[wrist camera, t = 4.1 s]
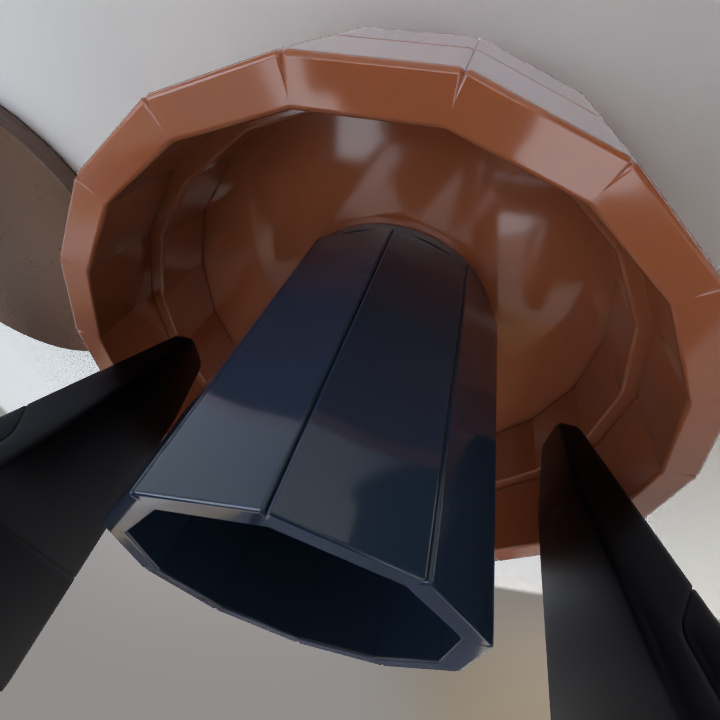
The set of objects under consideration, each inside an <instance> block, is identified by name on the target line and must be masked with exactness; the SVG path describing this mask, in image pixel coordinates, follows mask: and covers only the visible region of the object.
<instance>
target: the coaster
mask: <svg viewBox="0 0 720 720" xmlns="http://www.w3.org/2000/svg"><path fill="white" fill-rule="evenodd" d="M76 177H77V176H76V175H75V174H74V173H73V171H72V170H71V169H70V168H69V167H68V166H67V165H66V164H65V162H64V161H63V160H62V159H61V158H60V157H59V156H58V155H57V154H56V153H55V152H54V151H53V150H52V149H51V148H50V147H49V146H48V145H47V144H46V143H45V142H44V141H43V140H41V139H40V138H39V137H38V136H37V135H36V134H35V133H34V132H32V131H31V130H30V129H29V128H28V127H27V126H25V125H24V124H23V123H22V122H21V121H19V120H18V119H17V118H16V117H15V116H13V115H12V114H10V113H9V112H8V111H6V110H5V109H4V108H2V107H1V106H0V322H1V323H3V324H5V325H7V326H9V327H11V328H13V329H14V330H16V331H18V332H20V333H23V334H25V335H27V336H29V337H31V338H34V339H36V340H39V341H42V342H44V343H47V344H50V345H54V346H57V347H60V348H66V349H71V350H80V351H89V350H88V348H87V347H86V345H85V343H84V341H83V340H82V338H81V336H80V335H79V333H78V329H77V328H76V325H75V320H74V316H73V312H72V308H71V304H70V299H69V295H68V291H67V287H66V283H65V278H64V274H63V270H62V266H61V262H60V258H61V250H62V244H63V239H64V233H65V228H66V223H67V217H68V212H69V206H70V201H71V196H72V190H73V185H74V179H75V178H76Z"/></svg>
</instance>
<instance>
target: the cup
mask: <svg viewBox="0 0 720 720" xmlns="http://www.w3.org/2000/svg"><path fill="white" fill-rule="evenodd" d="M496 403H497V322H496V320H495V318H494V316H493V314H492V310H491V306H490V302H489V298H488V295H487V293H486V290H485V288H484V286H483V284H482V282H481V281H480V279H479V277H478V276H477V274H476V273H475V271H474V270H473V269H472V268H471V267H470V265H469V264H468V263H467V262H466V261H465V260H464V259H463V258H462V257H461V256H460V255H459V254H457V253H456V252H455V251H454V250H452V249H451V248H450V247H448V246H447V245H445V244H444V243H442V242H441V241H439V240H437V239H435V238H433V237H431V236H429V235H427V234H424V233H421V232H419V231H416V230H413V229H410V228H405V227H401V226H396V225H387V224H365V225H358V226H352V227H348V228H345V229H342V230H339V231H336V232H334V233H332V234H330V235H328V236H325V237H320V239H317V240H316V241H315V242H314V243H313V245H312V246H311V247H310V248H309V249H308V251H307V252H306V253H305V254H304V255H303V257H302V258H301V259H300V260H299V262H298V263H297V264H296V265H295V266H294V268H293V269H292V270H291V271H290V273H289V274H288V275H287V276H286V277H285V279H284V280H283V281H282V282H281V284H280V285H279V286H278V288H277V289H276V290H275V292H274V293H273V294H272V296H271V297H270V298H269V299H268V301H267V302H266V303H265V305H264V306H263V307H262V309H261V310H260V311H259V313H258V314H257V315H256V317H255V318H254V319H253V321H252V322H251V323H250V325H249V326H248V327H247V329H246V330H245V331H244V333H243V334H242V335H241V337H240V338H239V339H238V341H237V342H236V343H235V345H234V346H233V347H232V348H231V350H230V351H229V352H228V354H227V355H226V356H225V358H224V359H223V360H222V362H221V363H220V364H219V366H218V367H217V368H216V370H215V371H214V372H213V374H212V375H211V376H210V378H209V379H208V380H207V382H206V383H205V384H204V386H203V387H202V388H201V390H200V391H199V392H198V393H197V395H196V396H195V397H194V399H193V400H192V401H191V403H190V404H189V405H188V407H187V408H186V409H185V411H184V412H183V413H182V415H181V416H180V417H179V419H178V420H177V421H176V423H175V424H174V425H173V427H172V428H171V429H170V431H169V432H168V433H167V435H166V436H165V437H164V439H163V440H162V441H161V442H160V444H159V445H158V446H157V448H156V449H155V450H154V452H153V453H152V454H151V456H150V457H149V458H148V460H147V461H146V462H145V464H144V465H143V466H142V468H141V469H140V470H139V472H138V473H137V474H136V476H135V477H134V478H133V480H132V481H131V482H130V484H129V485H128V486H127V487H126V489H125V490H124V491H123V493H122V494H121V495H120V497H119V498H118V499H117V501H116V502H115V503H114V505H113V506H112V507H111V509H110V510H109V511H108V513H107V514H106V515H105V517H104V518H103V520H102V522H103V525H104V526H105V527H106V528H107V529H108V530H109V531H110V532H111V533H112V534H113V535H114V536H115V538H116V539H117V540H118V541H119V542H120V543H121V544H122V545H123V546H124V547H125V548H126V549H127V550H128V551H129V552H130V553H131V554H132V556H133V557H134V558H135V559H136V560H137V561H138V562H139V563H140V564H141V565H142V566H143V567H145V568H146V569H147V570H149V571H150V572H152V573H154V574H156V575H157V576H159V577H161V578H162V579H164V580H166V581H168V582H169V583H171V584H173V585H175V586H176V587H178V588H180V589H181V590H183V591H185V592H187V593H188V594H190V595H192V596H194V597H195V598H197V599H199V600H201V601H202V602H204V603H206V604H208V605H209V606H211V607H212V608H216V609H217V610H219V611H222V612H224V613H226V614H229V615H231V616H234V617H236V618H238V619H241V620H243V621H246V622H248V623H251V624H253V625H256V626H258V627H261V628H263V629H265V630H268V631H270V632H273V633H275V634H278V635H280V636H283V637H286V638H288V639H290V640H293V641H295V642H297V641H298V642H299V643H301V644H305V645H309V646H312V647H316V648H320V649H323V650H327V651H331V652H335V653H338V654H342V655H345V656H350V657H353V658H357V659H360V660H364V661H368V662H372V663H375V664H379V665H382V664H383V665H384V666H394V667H395V666H396V667H408V668H421V669H434V670H447V671H460V670H462V669H464V668H465V667H466V666H468V665H469V664H470V663H472V662H473V661H475V660H476V659H477V658H479V657H480V656H481V655H483V654H484V653H486V652H487V651H488V650H490V649H491V648H492V647H493V645H494V639H493V638H494V566H495V484H496Z"/></svg>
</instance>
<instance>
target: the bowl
mask: <svg viewBox="0 0 720 720" xmlns="http://www.w3.org/2000/svg"><path fill="white" fill-rule="evenodd" d="M365 224H387V225H396V226H401V227H405V228H410V229H413V230H416V231H419V232H421V233H424V234H427V235H429V236H431V237H433V238H435V239H437V240H439V241H441V242H442V243H444V244H445V245H447V246H448V247H450V248H451V249H452V250H454V251H455V252H456V253H457V254H459V255H460V256H461V257H462V258H463V259H464V260H465V261H466V262H467V263H468V264H469V265H470V267H471V268H472V269H473V270H474V271H475V273H476V274H477V276H478V277H479V279H480V281H481V282H482V284H483V286H484V288H485V290H486V293H487V295H488V298H489V302H490V306H491V310H492V314H493V316H494V318H495V320H496V322H497V403H496V484H495V561H498V560H500V561H502V560H508V559H515V558H522V557H529V556H536V555H540V542H539V527H538V501H539V484H540V468H541V452H542V447H543V444H544V442H545V440H546V439H547V437H548V436H549V434H550V433H551V431H552V430H553V428H554V427H555V426H556V424H558V423H566V424H570V425H574V426H577V427H578V428H580V429H581V431H582V432H583V433H584V435H585V436H586V438H587V439H588V440H589V442H590V443H591V445H592V446H593V447H594V449H595V450H596V452H597V453H598V454H599V456H600V457H601V459H602V460H603V461H604V463H605V464H606V466H607V467H608V468H609V470H610V471H611V473H612V474H613V475H614V477H615V478H616V480H617V481H618V482H619V484H620V485H621V487H622V488H623V489H624V491H625V492H626V494H627V495H628V496H629V498H630V499H631V501H632V502H633V503H634V505H635V506H636V508H637V509H638V510H639V512H640V513H641V515H642V516H643V517H644V518H645V517H647V516H648V515H649V514H650V513H652V512H653V511H654V510H656V509H657V508H658V507H659V506H661V505H662V504H663V503H664V502H666V501H667V500H668V499H670V498H671V497H672V496H673V495H675V494H676V493H677V492H678V491H680V490H681V489H682V488H683V487H685V486H686V485H687V484H689V483H690V482H691V481H692V480H694V479H695V478H696V475H698V474H699V473H700V471H701V469H702V467H703V465H704V463H705V461H706V459H707V457H708V455H709V453H710V451H711V449H712V447H713V445H714V443H715V441H716V439H717V437H718V435H719V433H720V273H719V272H718V270H717V269H716V268H715V266H714V265H713V264H712V262H711V261H710V260H709V258H708V257H707V256H706V254H705V253H704V251H703V250H702V249H701V247H700V246H699V245H698V243H697V242H696V241H695V239H694V238H693V237H692V235H691V234H690V232H689V231H688V230H687V228H686V227H685V226H684V224H683V223H682V222H681V220H680V219H679V218H678V216H677V215H676V213H675V212H674V211H673V209H672V208H671V207H670V205H669V204H668V203H667V201H666V200H665V198H664V197H663V196H662V194H661V193H660V192H659V190H658V189H657V188H656V186H655V185H654V184H653V182H652V181H651V179H650V178H649V177H648V175H647V174H646V173H645V171H644V170H643V169H642V167H641V166H640V165H639V163H638V162H637V161H636V159H635V158H634V157H633V156H632V154H631V153H630V152H629V151H628V149H627V148H626V147H625V146H624V144H623V143H622V142H621V141H620V139H619V138H618V137H617V136H616V134H615V133H614V132H613V130H612V129H611V128H610V127H609V125H608V124H607V123H606V122H605V120H604V119H603V118H602V117H601V115H600V114H599V113H598V112H597V110H596V109H595V108H594V107H593V105H592V104H591V103H590V102H589V100H588V99H587V98H586V97H584V96H583V95H582V93H580V92H579V91H577V90H575V89H573V88H571V87H570V86H568V85H566V84H564V83H562V82H561V81H559V80H557V79H555V78H553V77H552V76H550V75H548V74H546V73H544V72H543V71H541V70H539V69H537V68H535V67H533V66H532V65H530V64H528V63H526V62H524V61H523V60H521V59H519V58H517V57H515V56H514V55H512V54H510V53H508V52H506V51H505V50H503V49H501V48H499V47H497V46H496V45H494V44H492V43H490V42H488V41H487V40H485V39H480V40H479V38H478V37H474V36H463V35H452V34H442V33H431V32H420V31H409V30H398V29H387V28H376V27H364V28H356V29H352V30H348V31H345V32H341V33H337V34H333V35H329V36H325V37H321V38H317V39H314V40H310V41H306V42H302V43H298V44H294V45H290V46H286V47H283V48H279V49H275V50H272V51H269V52H266V53H264V54H261V55H258V56H255V57H252V58H249V59H246V60H243V61H241V62H238V63H235V64H232V65H229V66H226V67H223V68H220V69H218V70H215V71H212V72H209V73H206V74H203V75H200V76H197V77H195V78H192V79H189V80H186V81H183V82H180V83H177V84H174V85H172V86H169V87H166V88H163V89H160V90H157V91H154V92H151V93H149V94H148V95H147V97H144V98H142V99H141V100H140V101H139V102H138V103H137V104H136V105H135V107H134V108H133V109H132V110H131V111H130V112H129V114H128V115H127V116H126V117H125V118H124V119H123V120H122V122H121V123H120V124H119V125H118V126H117V127H116V129H115V130H114V131H113V132H112V133H111V134H110V136H109V137H108V138H107V139H106V140H105V141H104V142H103V144H102V145H101V146H100V147H99V148H98V149H97V151H96V152H95V153H94V154H93V155H92V156H91V157H90V159H89V160H88V161H87V162H86V163H85V164H84V166H83V167H82V168H81V169H80V170H79V171H78V173H77V177H76V178H75V179H74V185H73V190H72V196H71V201H70V206H69V212H68V217H67V223H66V228H65V233H64V239H63V244H62V250H61V258H60V262H61V266H62V270H63V274H64V278H65V283H66V287H67V291H68V295H69V299H70V304H71V308H72V312H73V316H74V320H75V325H76V328H77V329H78V333H79V335H80V336H81V338H82V340H83V341H84V343H85V345H86V347H87V348H88V350H89V352H90V354H91V355H92V357H93V359H94V360H95V362H96V364H97V366H98V367H99V369H100V371H101V370H103V369H105V368H107V367H110V366H112V365H114V364H116V363H118V362H120V361H123V360H125V359H127V358H129V357H131V356H133V355H135V354H138V353H140V352H142V351H144V350H146V349H148V348H151V347H153V346H155V345H157V344H159V343H161V342H163V341H166V340H168V339H170V338H172V337H174V336H183V337H188V338H191V339H193V340H194V342H195V344H196V347H197V350H198V353H199V357H200V360H201V367H200V370H199V373H198V375H197V377H196V379H195V381H194V383H193V385H192V387H191V389H190V391H189V393H188V395H187V397H186V399H185V401H184V403H183V405H182V407H181V409H180V411H179V413H178V415H177V417H176V419H175V420H174V422H173V424H172V425H171V427H170V429H171V428H172V427H173V425H174V424H175V423H176V421H177V420H178V419H179V417H180V416H181V415H182V413H183V412H184V411H185V409H186V408H187V407H188V405H189V404H190V403H191V401H192V400H193V399H194V397H195V396H196V395H197V393H198V392H199V391H200V390H201V388H202V387H203V386H204V384H205V383H206V382H207V380H208V379H209V378H210V376H211V375H212V374H213V372H214V371H215V370H216V368H217V367H218V366H219V364H220V363H221V362H222V360H223V359H224V358H225V356H226V355H227V354H228V352H229V351H230V350H231V348H232V347H233V346H234V345H235V343H236V342H237V341H238V339H239V338H240V337H241V335H242V334H243V333H244V331H245V330H246V329H247V327H248V326H249V325H250V323H251V322H252V321H253V319H254V318H255V317H256V315H257V314H258V313H259V311H260V310H261V309H262V307H263V306H264V305H265V303H266V302H267V301H268V299H269V298H270V297H271V296H272V294H273V293H274V292H275V290H276V289H277V288H278V286H279V285H280V284H281V282H282V281H283V280H284V279H285V277H286V276H287V275H288V274H289V273H290V271H291V270H292V269H293V268H294V266H295V265H296V264H297V263H298V262H299V260H300V259H301V258H302V257H303V255H304V254H305V253H306V252H307V251H308V249H309V248H310V247H311V246H312V245H313V243H314V242H315V241H316V240H317V239H320V237H325V236H328V235H330V234H332V233H334V232H336V231H339V230H342V229H345V228H348V227H352V226H358V225H365ZM170 429H169V430H168V432H169V431H170ZM168 432H167V433H168ZM167 433H166V435H167ZM166 435H165V436H166ZM165 436H164V437H165ZM163 439H164V438H163Z"/></svg>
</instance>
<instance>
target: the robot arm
mask: <svg viewBox="0 0 720 720" xmlns="http://www.w3.org/2000/svg"><path fill="white" fill-rule="evenodd" d="M200 367H201V360H200V357H199V353H198V350H197V347H196V344H195V342H194V340H193V339H191V338H188V337H183V336H174V337H172V338H170V339H168V340H166V341H163V342H161V343H159V344H157V345H155V346H153V347H151V348H148V349H146V350H144V351H142V352H140V353H138V354H135V355H133V356H131V357H129V358H127V359H125V360H123V361H120V362H118V363H116V364H114V365H112V366H110V367H107V368H105V369H103V370H101V371H99V372H97V373H95V374H92V375H90V376H88V377H86V378H84V379H82V380H79V381H77V382H75V383H73V384H71V385H69V386H66V387H64V388H62V389H60V390H58V391H56V392H54V393H51V394H49V395H47V396H45V397H43V398H41V399H38V400H36V401H34V402H32V403H30V404H28V405H27V406H23V407H21V408H19V409H17V410H15V411H12V412H10V413H8V414H6V415H4V416H1V417H0V691H2V690H3V689H4V688H5V687H6V685H7V684H8V683H9V681H10V680H11V678H12V677H13V675H14V673H15V672H16V670H17V669H18V667H19V666H20V664H21V662H22V661H23V659H24V657H25V656H26V654H27V653H28V651H29V650H30V648H31V647H32V645H33V643H34V642H35V640H36V638H37V637H38V636H39V634H40V632H41V631H42V629H43V628H44V626H45V624H46V623H47V621H48V620H49V618H50V616H51V615H52V614H53V612H54V610H55V608H56V607H57V606H58V604H59V602H60V601H61V599H62V598H63V596H64V595H65V593H66V591H67V590H68V588H69V587H70V585H71V584H72V582H73V580H74V577H76V575H77V574H78V572H79V571H80V569H81V567H82V566H83V564H84V563H85V561H86V559H87V558H88V556H89V555H90V553H91V551H92V550H93V548H94V547H95V545H96V544H97V542H98V540H99V539H100V537H101V536H102V534H103V533H104V531H105V530H106V527H105V526H104V525H103V522H102V520H103V518H104V517H105V515H106V514H107V513H108V511H109V510H110V509H111V507H112V506H113V505H114V503H115V502H116V501H117V499H118V498H119V497H120V495H121V494H122V493H123V491H124V490H125V489H126V487H127V486H128V485H129V484H130V482H131V481H132V480H133V478H134V477H135V476H136V474H137V473H138V472H139V470H140V469H141V468H142V466H143V465H144V464H145V462H146V461H147V460H148V458H149V457H150V456H151V454H152V453H153V452H154V450H155V449H156V448H157V446H158V445H159V444H160V442H161V441H162V440H163V438H164V436H165V435H166V433H167V432H168V430H169V429H170V427H171V425H172V424H173V422H174V420H175V419H176V417H177V415H178V413H179V411H180V409H181V407H182V405H183V403H184V401H185V399H186V397H187V395H188V393H189V391H190V389H191V387H192V385H193V383H194V381H195V379H196V377H197V375H198V373H199V370H200ZM538 527H539V542H540V558H541V573H542V589H543V605H544V620H545V635H546V651H547V667H548V681H549V682H548V683H549V698H550V712H551V720H720V623H719V622H718V621H717V619H716V618H715V616H714V615H713V614H712V612H711V611H710V610H709V608H708V607H707V605H706V604H705V603H704V601H703V600H702V598H701V597H700V596H699V594H698V593H697V592H696V591H695V590H693V589H692V585H691V583H690V582H689V581H688V579H687V578H686V576H685V575H684V574H683V572H682V571H681V569H680V568H679V567H678V565H677V564H676V562H675V561H674V560H673V558H672V557H671V555H670V554H669V553H668V551H667V550H666V548H665V547H664V546H663V544H662V543H661V541H660V540H659V539H658V537H657V536H656V534H655V533H654V531H653V530H652V529H651V527H650V526H649V524H648V523H647V522H646V520H645V519H644V517H643V516H642V515H641V513H640V512H639V510H638V509H637V508H636V506H635V505H634V503H633V502H632V501H631V499H630V498H629V496H628V495H627V494H626V492H625V491H624V489H623V488H622V487H621V485H620V484H619V482H618V481H617V480H616V478H615V477H614V475H613V474H612V473H611V471H610V470H609V468H608V467H607V466H606V464H605V463H604V461H603V460H602V459H601V457H600V456H599V454H598V453H597V452H596V450H595V449H594V447H593V446H592V445H591V443H590V442H589V440H588V439H587V438H586V436H585V435H584V433H583V432H582V431H581V429H580V428H578V427H577V426H574V425H570V424H566V423H558V424H556V426H555V427H554V428H553V430H552V431H551V433H550V434H549V436H548V437H547V439H546V440H545V442H544V444H543V447H542V452H541V468H540V484H539V501H538Z"/></svg>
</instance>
